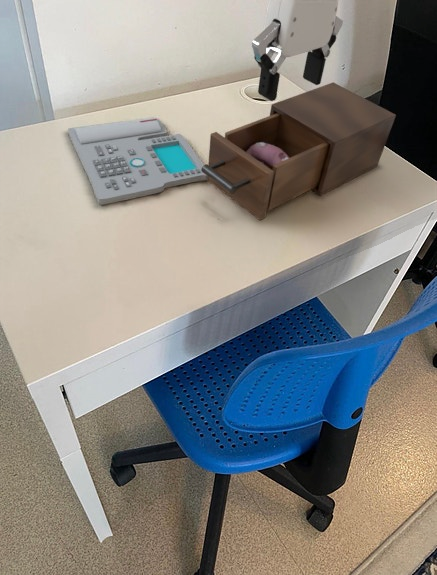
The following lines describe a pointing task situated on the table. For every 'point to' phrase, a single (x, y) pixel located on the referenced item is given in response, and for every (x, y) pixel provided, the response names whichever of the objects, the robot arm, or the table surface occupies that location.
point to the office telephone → (134, 158)
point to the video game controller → (267, 153)
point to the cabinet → (340, 130)
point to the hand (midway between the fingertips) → (289, 89)
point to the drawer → (267, 180)
